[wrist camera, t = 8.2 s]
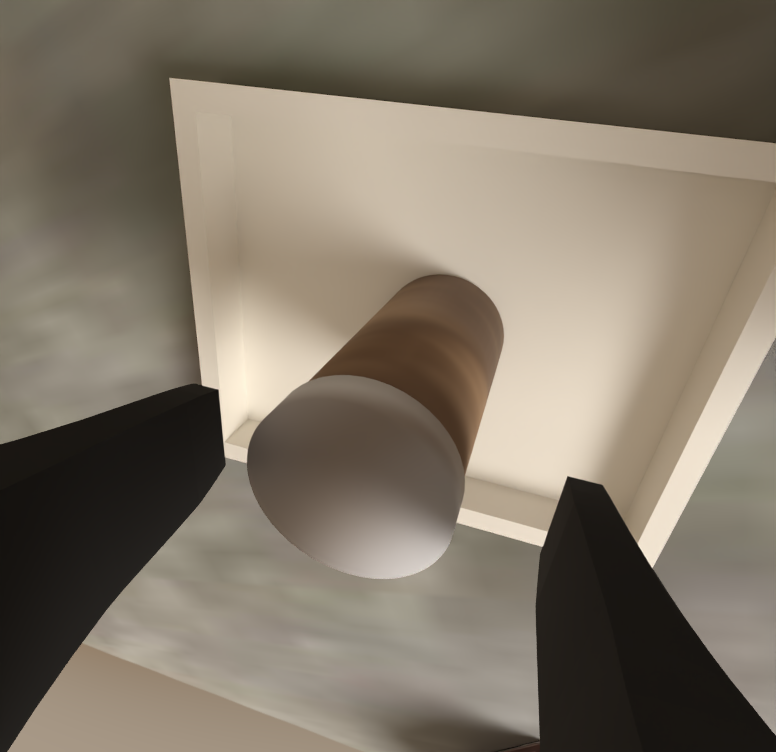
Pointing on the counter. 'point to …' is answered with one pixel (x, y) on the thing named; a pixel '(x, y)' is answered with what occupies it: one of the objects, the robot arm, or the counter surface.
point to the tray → (490, 278)
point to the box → (525, 748)
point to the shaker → (383, 434)
